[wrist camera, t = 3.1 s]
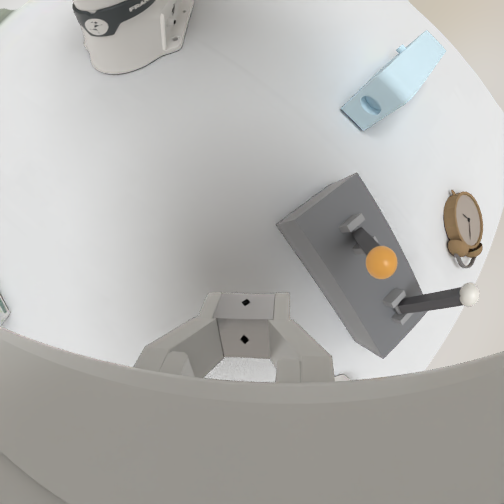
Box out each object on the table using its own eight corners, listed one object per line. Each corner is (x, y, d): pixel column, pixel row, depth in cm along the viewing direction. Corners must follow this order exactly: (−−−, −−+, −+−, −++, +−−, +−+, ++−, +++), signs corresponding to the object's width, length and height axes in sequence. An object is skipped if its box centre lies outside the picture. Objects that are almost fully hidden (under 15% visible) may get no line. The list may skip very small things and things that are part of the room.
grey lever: (395, 321, 30) (480, 309, 20) (387, 306, 30) (475, 291, 20) (402, 307, 32) (482, 293, 22) (394, 292, 31) (477, 275, 21)
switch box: (354, 341, 39) (391, 364, 29) (275, 224, 37) (301, 218, 27) (396, 300, 41) (438, 311, 31) (329, 185, 38) (365, 168, 28)
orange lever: (354, 248, 30) (378, 290, 19) (342, 230, 30) (363, 263, 19) (372, 236, 29) (406, 272, 18) (361, 217, 29) (392, 244, 18)
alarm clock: (479, 195, 41) (489, 266, 39) (464, 201, 46) (472, 269, 44) (451, 185, 39) (462, 266, 37) (434, 193, 44) (443, 269, 42)
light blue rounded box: (388, 56, 40) (425, 25, 27) (408, 76, 41) (447, 48, 28) (334, 107, 38) (377, 66, 25) (359, 133, 39) (410, 100, 26)
